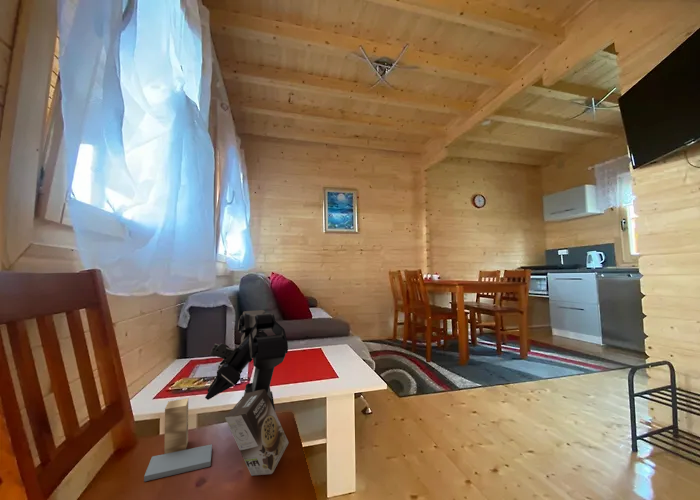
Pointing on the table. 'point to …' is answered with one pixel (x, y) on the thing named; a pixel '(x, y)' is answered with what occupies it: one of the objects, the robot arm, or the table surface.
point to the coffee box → (257, 432)
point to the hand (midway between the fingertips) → (207, 395)
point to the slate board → (178, 462)
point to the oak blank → (176, 426)
